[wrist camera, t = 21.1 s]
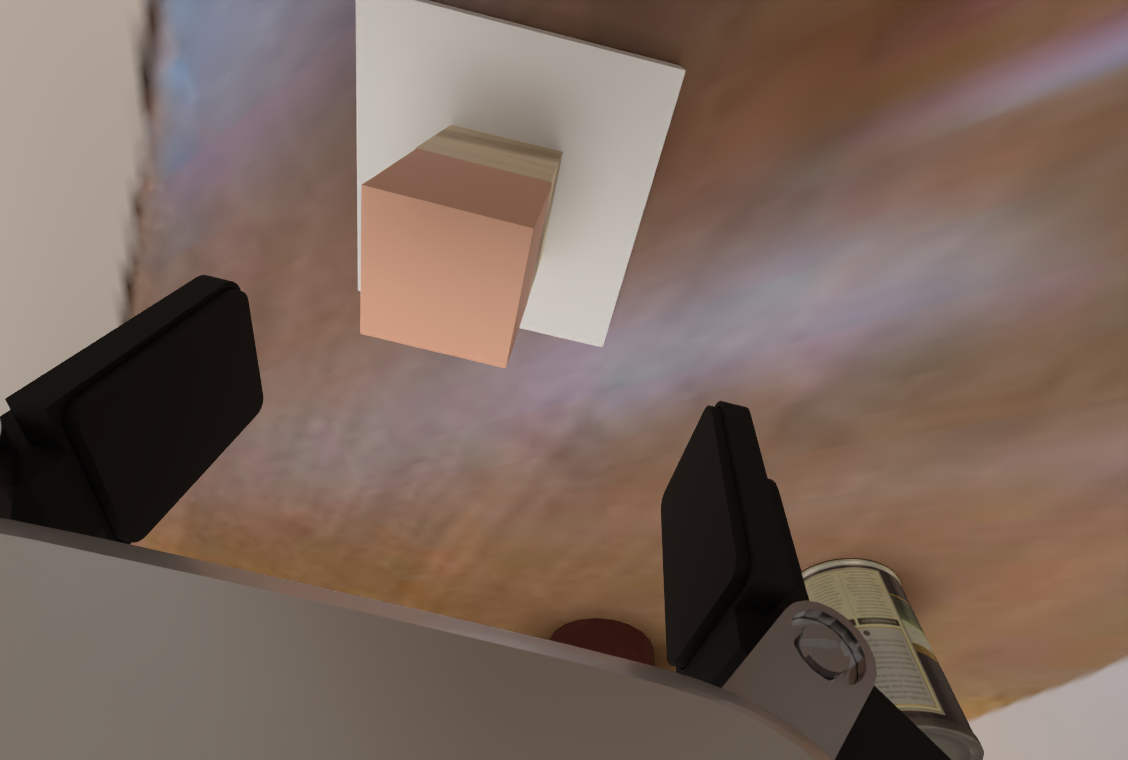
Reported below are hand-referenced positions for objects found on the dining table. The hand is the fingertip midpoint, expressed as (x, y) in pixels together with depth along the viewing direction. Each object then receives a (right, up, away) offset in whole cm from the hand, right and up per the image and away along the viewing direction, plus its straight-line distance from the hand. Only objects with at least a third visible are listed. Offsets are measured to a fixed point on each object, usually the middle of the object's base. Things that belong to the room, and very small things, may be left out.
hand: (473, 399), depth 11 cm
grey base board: (-1, +12, +21) cm, 25 cm away
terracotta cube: (-2, +7, +14) cm, 16 cm away
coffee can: (+28, -20, +40) cm, 53 cm away
